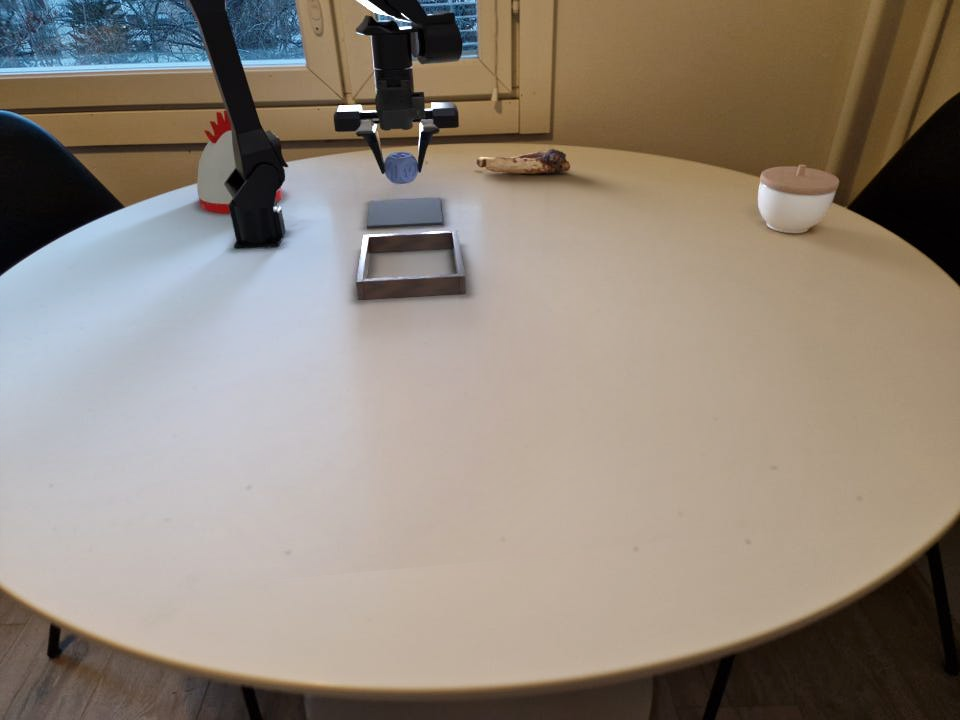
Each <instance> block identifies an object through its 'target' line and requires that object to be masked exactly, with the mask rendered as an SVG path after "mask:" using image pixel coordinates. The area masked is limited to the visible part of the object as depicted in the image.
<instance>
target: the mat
mask: <svg viewBox="0 0 960 720" xmlns="http://www.w3.org/2000/svg"><path fill="white" fill-rule="evenodd" d="M443 220H444V219H443V213H442V205H441V198H440V197H428V198H427V197H425V198H408V199H406V198H405V199H385V200H370V203H369V210H368V217H367V224H366V228H367V229H379V228H398V227H416V226H417V227H418V226H420V227H421V226H422V227H423V226H439V225H440V226H441V225H442V226H443V225H444V221H443Z"/></svg>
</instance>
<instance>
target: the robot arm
mask: <svg viewBox="0 0 960 720" xmlns="http://www.w3.org/2000/svg"><path fill="white" fill-rule="evenodd" d="M184 1H185V2H186V4H187V6H188V8H189V10H190V12H191V13H192V15H193V17H194V20H195V22H196V25H197V28H198V32H199V34H200V38H201V40H202V44H203V47H204V49H205V52H206V55H207V58H208V61H209V64H210V67H211V70H212V73H213V76H214V79H215V82H216V86H217V88H218V91H219V94H220V97H221V100H222V104H223V106H224V110H225V111H226V112H227V115H228V118H229V121H230V124H231V131H232V146H233V152H234V159H235V165H236V167H235V169H234V170H233V172H232V173H231V174H230V176H229V177H228V178H227V180H226V181H225V183H224V185H225V187H226V188H227V190H228V192H229V193H230V195H231V196H232V198H233V199H232V201H231V202H230V203H229V205H228V206H229V211H230V213H229V214H230V219H231V223H232V227H233V231H234V232H233V233H234V236H235V242H234V244H233V249H236V250H241V249H258V248H260V249H261V248H276V247H279V246H280V244H281V242H282V240H283V238H284V237H285V234H286V233H287V231H286V227H285V226H286V225H285V221H284V216H283V211H282V207H281V206H278V204H277V203H278V202H277V203H276V192H277V190H278V189H279V188H280V187H281V188H282V186H283V184H284V182H285V181H286V172H285V169H286V168H289V165H288V163H287V162H286V161H285V159H284V156H283V152H282V144H281V140H280V137H278V136H277V135H276V134H275V133H274V132H273V131H272V130H271V129H268V130H266V131H265V130H264V128H263V126H262V124H261V121H260V117H259V114H258V112H257V107H256V105H255V101H254V98H253V94H252V92H251V88H250V85H249V82H248V79H247V76H246V73H245V69H244V66H243V62H242V60H241V56H240V52H239V49H238V47H237V43H236V40H235V36H234V33H233V30H232V27H231V24H230V20H229V17H228V13H227V3H226V2H227V1H226V0H184ZM356 1H357V2H358V3H360V4H361V5H363V6H364V7H366V9H368V10H370V11H371V12H373V13H376V14H379V15H384V16H389V17H392V18H393V19H386V20H376V19H375V18H374V16H372V15H368V14H366V15H364V18H363V20H362V22H361V23H359V25H357V27H356V28H355V33H356V34H358V35H362V36H370V41H371V42H370V43H371V52H372V62H373V63H372V65H373V73H374V86H375V98H374V101H375V102H374V103H375V110H363V106H362V105H361V104H350V105H349V104H348V105H347V104H345V105H338V106H337V108H336V109H335V111H334V114H333V125H334V126H333V127H334V131H335V132H338V133H346V132H347V133H348V132H355V136H356V137H359V138H360V137H362V138H363V139H364V140H365V142H366V143H367V145H368V146H369V148H370V150H371V152H372V154H373V156H374V159H375V161H376V163H377V166H378V168H379V170H380V173H381V174H382V175H385V172H384V162H385V159H384V156H383V151H382V146H381V141H380V136H379V135H380V134H379V130H378V125H377V124H379V129H380V130H382V131H387V132H388V131H391V130H403V131H408V130H411V129H413V127H414V123H419V133H418V134H419V135H418V151H417V163H418V174H420V173H422V170H423V166H424V163H425V157H426V153H427V151H428V150H427V149H428V147H429V144H430V142H431V139H432V138H433V136H434V135H439V134H440V132H441V131H440V129H457V128H459V127H460V120H459V119H460V117H459V109H458V106H457V105H456V104H455V102H454V101H446V102H445V101H443V102H441V101H440V102H439V101H438V102H431V108H426V107H425V106H426V105H425V104H426V103H425V102H426V101H425V91H415V85H414V69H413V68H414V67H413V58H414V59H417V61H418V63H419V64H421V65H433V64H444V63H445V64H446V63H447V64H448V63H456V62H459V61H460V60H461V58H462V54H463V48H464V47H463V46H464V45H463V44H464V41H463V37H462V35H461V34H462V33H461V31H460V27H459V25H458V23H457V21H456V13H455V12H453V11H442V12H438V13H429V14H428V13H427V12H426V11H425V9H424V8H423V6H422V5H421V3H420V2H419V0H356ZM396 20H397V21H401V22H406V23H410V26H399V24H398V23H397V21H396Z"/></svg>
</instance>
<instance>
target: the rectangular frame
mask: <svg viewBox="0 0 960 720" xmlns="http://www.w3.org/2000/svg"><path fill="white" fill-rule="evenodd" d="M458 232H459V231H458V230H439V231H421V232H399V233H380V234H363V236H362V241H361V248H360V254H359V261H358V267H357V274H356V278H355V279H356V281H355V285H356V291H357V299H358V301H360V300H377V299H393V298H395V299H396V298H397V299H398V298H413V297H429V296H430V297H431V296H448V295H464V294H467V292H466V291H467V288H466V287H467V286H466V285H467V284H466V273H465V266H464V261H463V255H462V249H461V243H460V237H459V233H458ZM433 250H434V251H435V250H452V253H453V258H454V266H455V272H456V273H452V274H451V273H450V274H449V273H447V274H433V275H432V274H431V275H414V276H396V277H394V276H393V277H379V278H377V277H376V278H369V277H368V275H369V268H370V260H371V254H375V253H376V254H377V253H394V252H395V253H397V252H416V251H433Z"/></svg>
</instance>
